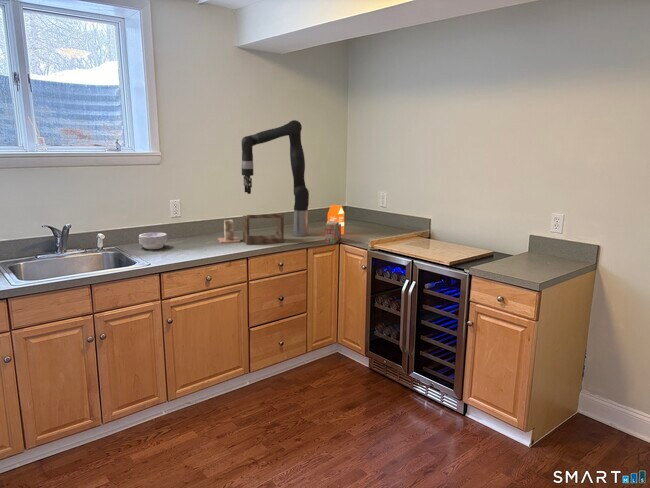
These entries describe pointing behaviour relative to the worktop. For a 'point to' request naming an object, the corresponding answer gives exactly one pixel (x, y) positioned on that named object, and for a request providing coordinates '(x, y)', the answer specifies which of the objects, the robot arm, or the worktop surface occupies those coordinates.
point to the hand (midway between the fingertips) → (247, 193)
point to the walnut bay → (264, 238)
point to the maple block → (228, 230)
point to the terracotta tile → (228, 240)
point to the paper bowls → (153, 240)
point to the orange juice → (336, 215)
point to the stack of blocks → (332, 231)
